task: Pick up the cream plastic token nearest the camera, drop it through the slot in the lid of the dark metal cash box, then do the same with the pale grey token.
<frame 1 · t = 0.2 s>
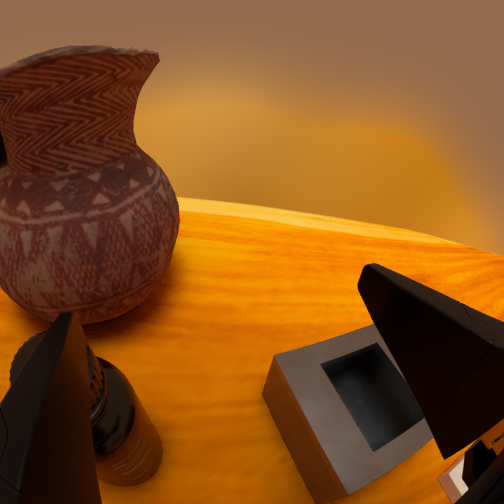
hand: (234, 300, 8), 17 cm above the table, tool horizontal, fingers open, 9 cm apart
supplement bottle: (120, 448, 16), on the table
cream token: (460, 488, 13), on the table
jug: (94, 283, 30), on the table
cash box: (345, 423, 20), on the table
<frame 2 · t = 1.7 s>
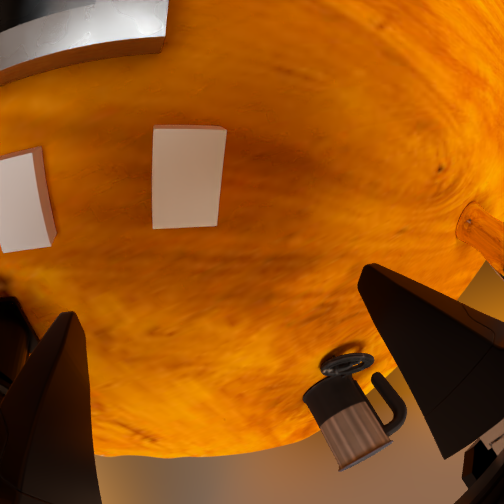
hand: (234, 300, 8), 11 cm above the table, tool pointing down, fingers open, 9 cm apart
milk frother: (330, 374, 41), on the table
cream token: (183, 170, 17), on the table
beer glass: (466, 219, 32), on the table
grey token: (24, 194, 14), on the table
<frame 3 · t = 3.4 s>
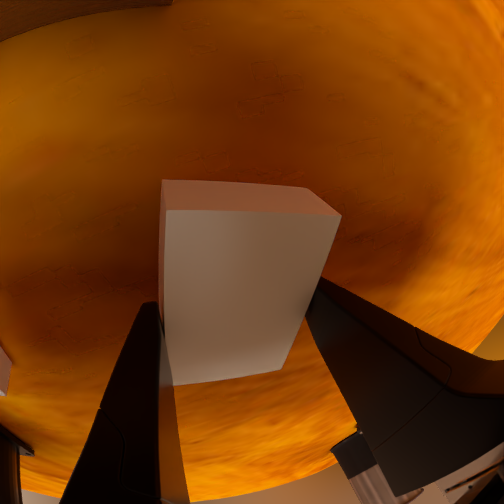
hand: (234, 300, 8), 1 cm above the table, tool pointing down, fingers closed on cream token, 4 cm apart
milk frother: (362, 426, 33), on the table
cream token: (222, 272, 9), on the table, touching gripper
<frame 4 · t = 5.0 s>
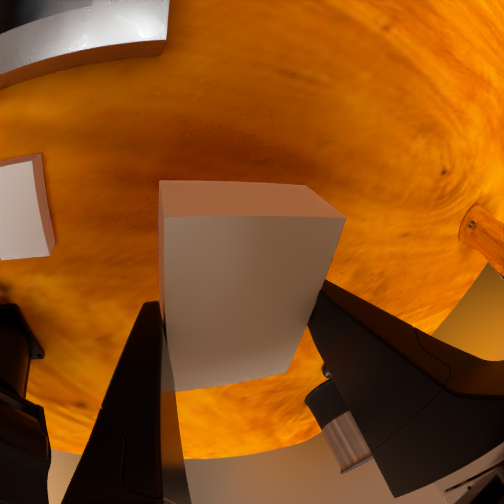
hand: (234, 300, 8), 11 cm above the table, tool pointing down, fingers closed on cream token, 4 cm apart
milk frother: (332, 376, 41), on the table
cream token: (224, 275, 9), point 10 cm above the table, touching gripper
beer glass: (469, 221, 31), on the table
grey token: (23, 201, 14), on the table
when the fingers open (8 cm above the table, at t = 6.4 s): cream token drops 7 cm, resting on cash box.
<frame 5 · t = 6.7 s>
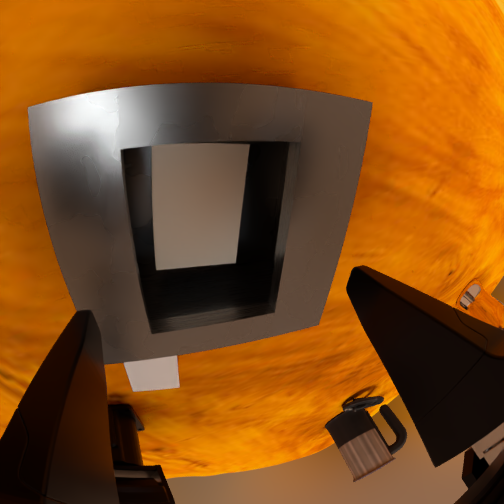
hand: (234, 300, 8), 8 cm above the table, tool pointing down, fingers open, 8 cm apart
milk frother: (348, 408, 48), on the table
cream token: (191, 193, 14), point 1 cm above the table, touching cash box
beer glass: (465, 292, 39), on the table
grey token: (149, 350, 21), on the table
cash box: (189, 188, 15), on the table
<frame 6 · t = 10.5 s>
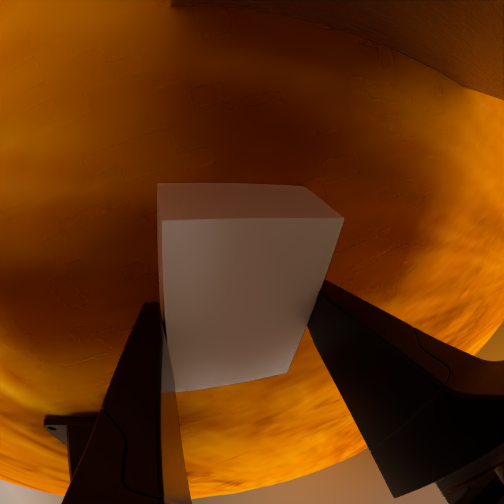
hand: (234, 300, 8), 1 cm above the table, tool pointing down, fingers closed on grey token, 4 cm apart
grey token: (224, 277, 9), on the table, touching gripper
when the fingers open (9 cm above the table, at t = 13.1 s): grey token drops 5 cm, resting on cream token.
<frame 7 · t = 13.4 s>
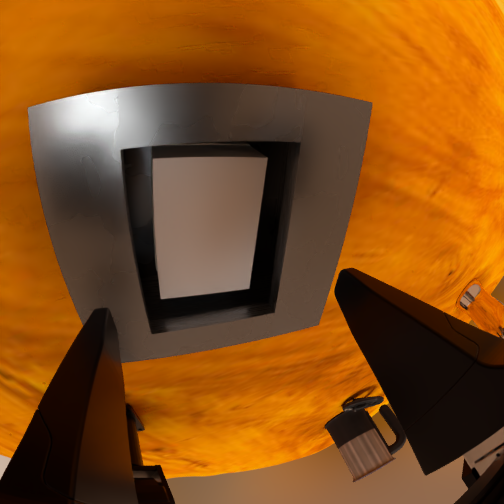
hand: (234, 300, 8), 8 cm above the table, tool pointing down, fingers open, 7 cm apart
milk frother: (348, 408, 48), on the table
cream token: (191, 193, 14), point 1 cm above the table, touching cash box, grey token
beer glass: (465, 292, 39), on the table
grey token: (198, 211, 12), point 3 cm above the table, touching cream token
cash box: (189, 188, 15), on the table
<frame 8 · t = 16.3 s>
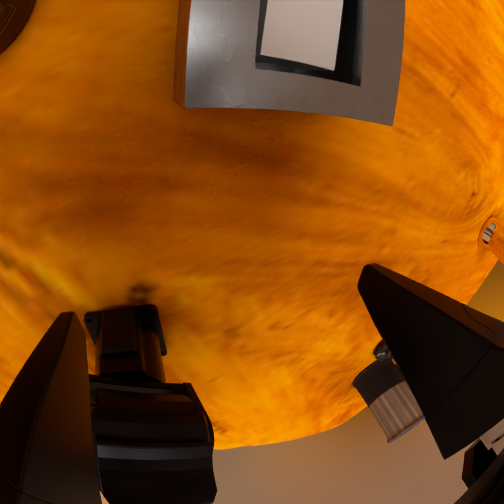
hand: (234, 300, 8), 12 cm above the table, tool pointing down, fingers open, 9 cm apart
milk frother: (377, 359, 47), on the table
beer glass: (485, 229, 38), on the table
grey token: (288, 15, 11), point 3 cm above the table, touching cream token
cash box: (268, 22, 13), on the table
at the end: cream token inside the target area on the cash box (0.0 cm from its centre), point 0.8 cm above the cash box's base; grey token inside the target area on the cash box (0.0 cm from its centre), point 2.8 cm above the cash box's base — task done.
